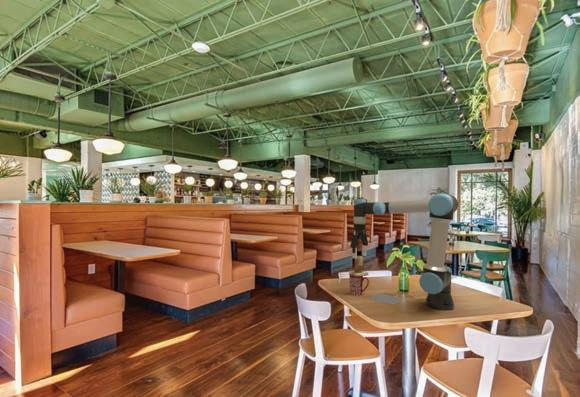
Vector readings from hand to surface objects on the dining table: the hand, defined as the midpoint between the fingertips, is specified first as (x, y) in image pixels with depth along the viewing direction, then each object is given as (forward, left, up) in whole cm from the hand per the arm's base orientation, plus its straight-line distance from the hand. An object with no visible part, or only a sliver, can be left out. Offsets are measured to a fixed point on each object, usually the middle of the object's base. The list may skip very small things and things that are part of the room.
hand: (359, 256), depth 203 cm
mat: (-17, -3, -24) cm, 30 cm away
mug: (0, 0, -24) cm, 24 cm away
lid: (0, 0, -11) cm, 11 cm away
